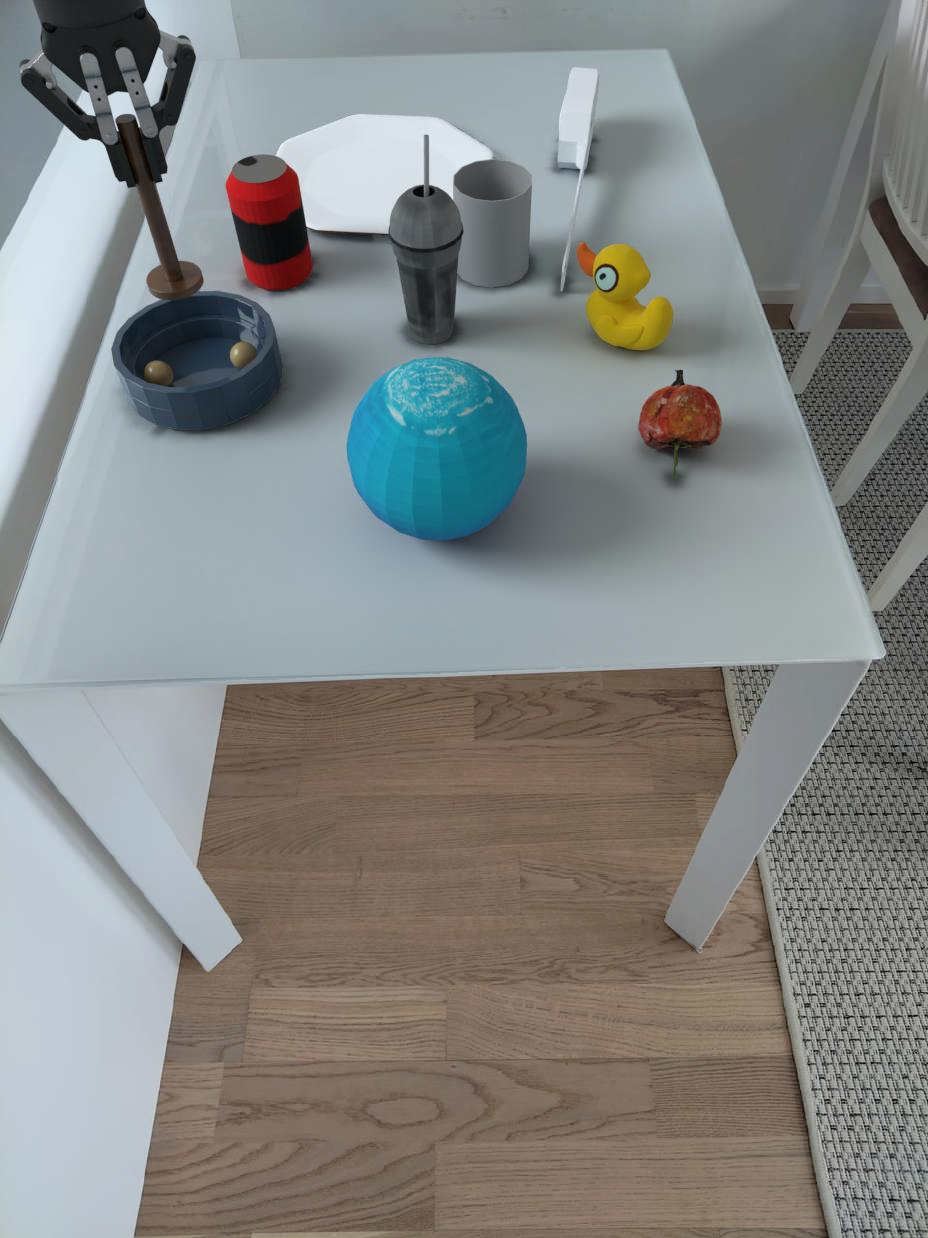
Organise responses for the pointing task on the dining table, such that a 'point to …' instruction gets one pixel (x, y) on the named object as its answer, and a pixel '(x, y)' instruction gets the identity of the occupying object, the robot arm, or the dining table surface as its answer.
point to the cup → (493, 221)
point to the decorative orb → (437, 448)
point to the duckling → (623, 298)
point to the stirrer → (157, 222)
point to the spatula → (577, 133)
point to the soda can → (269, 222)
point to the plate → (373, 167)
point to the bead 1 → (158, 373)
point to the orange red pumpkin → (680, 418)
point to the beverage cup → (427, 256)
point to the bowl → (198, 360)
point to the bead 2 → (242, 354)
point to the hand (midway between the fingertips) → (144, 179)
